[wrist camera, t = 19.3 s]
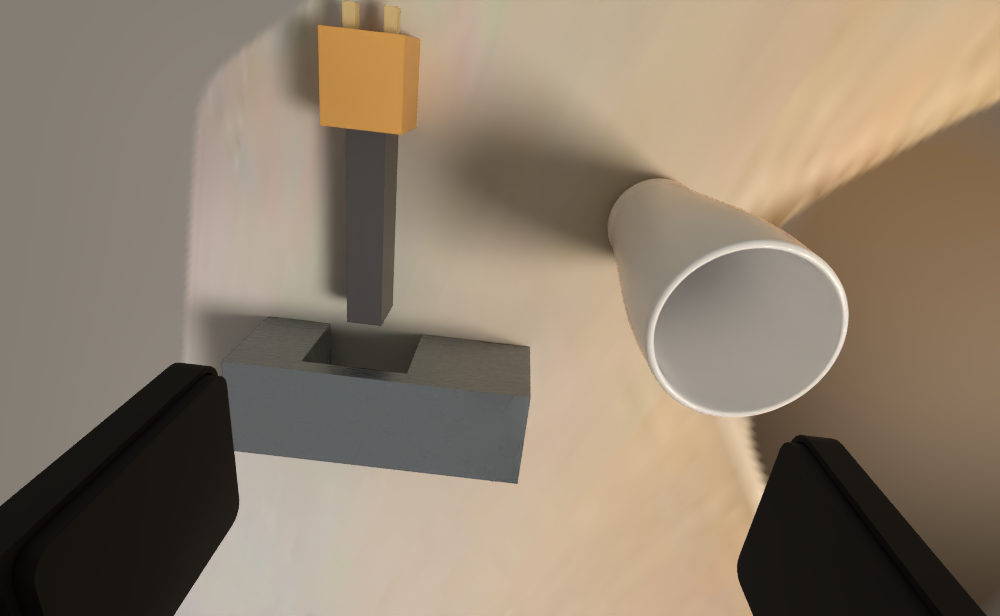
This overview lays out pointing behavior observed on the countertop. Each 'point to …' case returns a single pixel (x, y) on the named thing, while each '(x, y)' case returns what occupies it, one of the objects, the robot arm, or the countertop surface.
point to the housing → (380, 403)
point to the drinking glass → (723, 300)
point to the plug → (369, 143)
